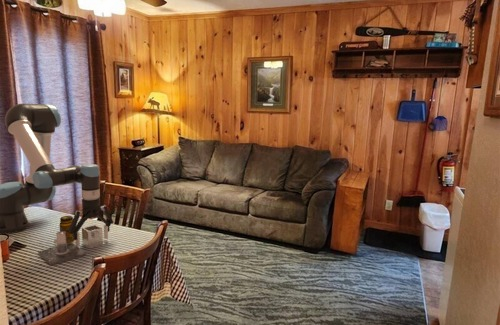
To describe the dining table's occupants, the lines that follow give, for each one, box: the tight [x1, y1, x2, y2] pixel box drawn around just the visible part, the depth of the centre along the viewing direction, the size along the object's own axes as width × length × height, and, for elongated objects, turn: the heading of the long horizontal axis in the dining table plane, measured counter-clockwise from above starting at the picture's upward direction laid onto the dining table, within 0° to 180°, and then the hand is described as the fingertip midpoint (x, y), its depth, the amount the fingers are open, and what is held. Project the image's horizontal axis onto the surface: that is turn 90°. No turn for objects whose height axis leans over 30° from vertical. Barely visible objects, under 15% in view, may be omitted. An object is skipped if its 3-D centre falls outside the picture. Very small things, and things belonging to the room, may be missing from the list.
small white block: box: [81, 224, 104, 249], centre depth 155 cm, size 8×7×8 cm
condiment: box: [54, 215, 76, 247], centre depth 157 cm, size 7×8×12 cm
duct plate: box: [37, 231, 87, 267], centre depth 144 cm, size 15×14×10 cm
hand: (92, 242), depth 156 cm, fingers open, 12 cm apart
